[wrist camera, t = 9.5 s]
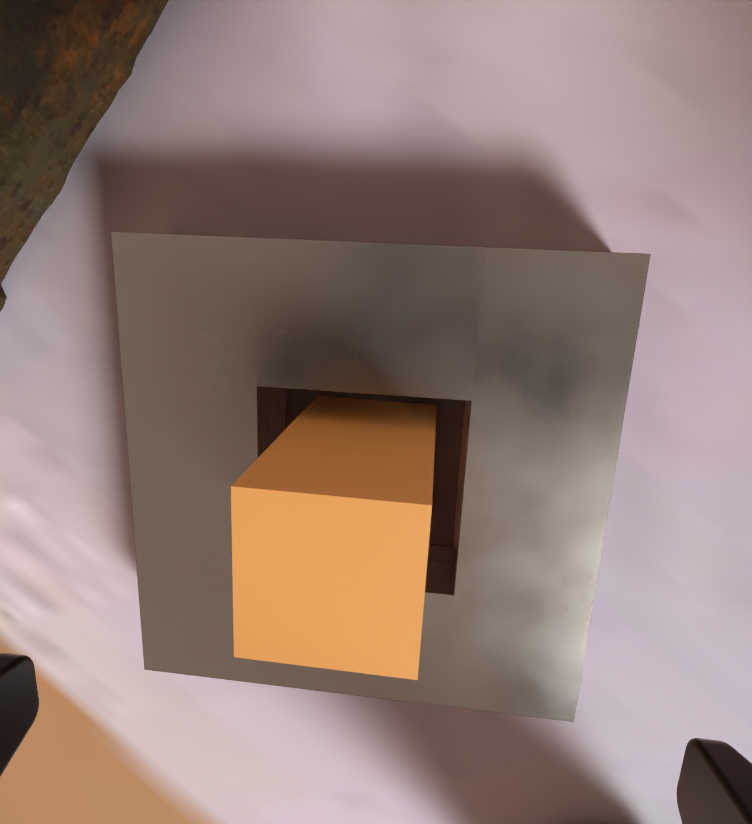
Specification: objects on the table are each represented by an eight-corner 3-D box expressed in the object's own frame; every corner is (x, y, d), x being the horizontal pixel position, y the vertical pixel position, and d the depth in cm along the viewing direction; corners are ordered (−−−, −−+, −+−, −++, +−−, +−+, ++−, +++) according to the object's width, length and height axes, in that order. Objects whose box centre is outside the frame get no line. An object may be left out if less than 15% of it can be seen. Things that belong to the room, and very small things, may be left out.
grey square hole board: (614, 255, 17) (650, 253, 14) (555, 656, 20) (573, 721, 17) (164, 236, 18) (110, 231, 15) (184, 615, 22) (144, 669, 19)
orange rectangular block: (436, 405, 18) (432, 505, 11) (427, 516, 20) (417, 680, 12) (317, 395, 19) (230, 486, 11) (314, 505, 20) (234, 656, 12)
